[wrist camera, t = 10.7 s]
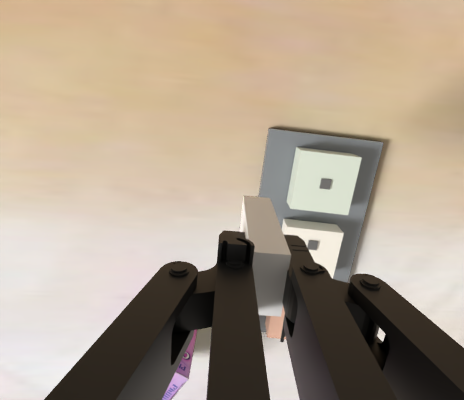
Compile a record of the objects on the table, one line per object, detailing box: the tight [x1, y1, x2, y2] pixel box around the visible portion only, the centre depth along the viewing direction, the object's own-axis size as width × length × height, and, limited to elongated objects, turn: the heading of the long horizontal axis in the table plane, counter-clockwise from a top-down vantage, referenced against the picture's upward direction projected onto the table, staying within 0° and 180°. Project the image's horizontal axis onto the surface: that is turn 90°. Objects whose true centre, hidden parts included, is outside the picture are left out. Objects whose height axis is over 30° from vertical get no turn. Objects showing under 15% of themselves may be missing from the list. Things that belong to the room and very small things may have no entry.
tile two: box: [282, 219, 344, 279], centre depth 35 cm, size 6×6×3 cm
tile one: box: [287, 147, 362, 215], centre depth 32 cm, size 6×6×3 cm
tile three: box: [265, 307, 286, 339], centre depth 37 cm, size 6×6×3 cm
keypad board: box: [259, 128, 383, 332], centre depth 37 cm, size 25×12×1 cm, turn 173°
